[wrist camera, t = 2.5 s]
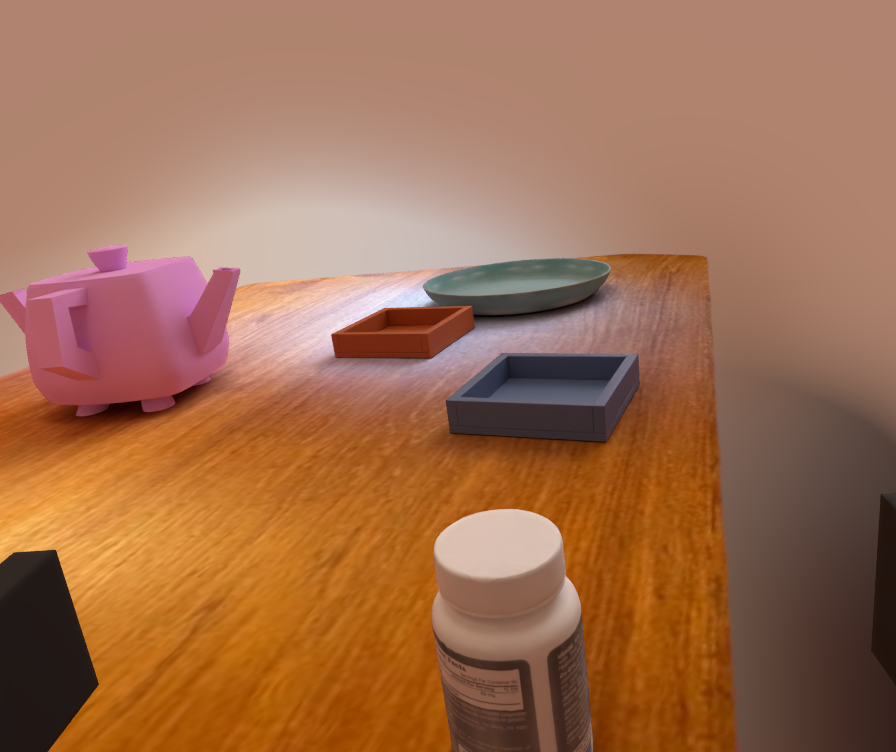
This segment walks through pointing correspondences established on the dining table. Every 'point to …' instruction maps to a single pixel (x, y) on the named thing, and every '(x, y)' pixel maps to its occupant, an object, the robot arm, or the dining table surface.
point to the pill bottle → (510, 636)
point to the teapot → (124, 330)
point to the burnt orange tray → (404, 332)
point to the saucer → (519, 285)
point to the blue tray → (546, 396)
